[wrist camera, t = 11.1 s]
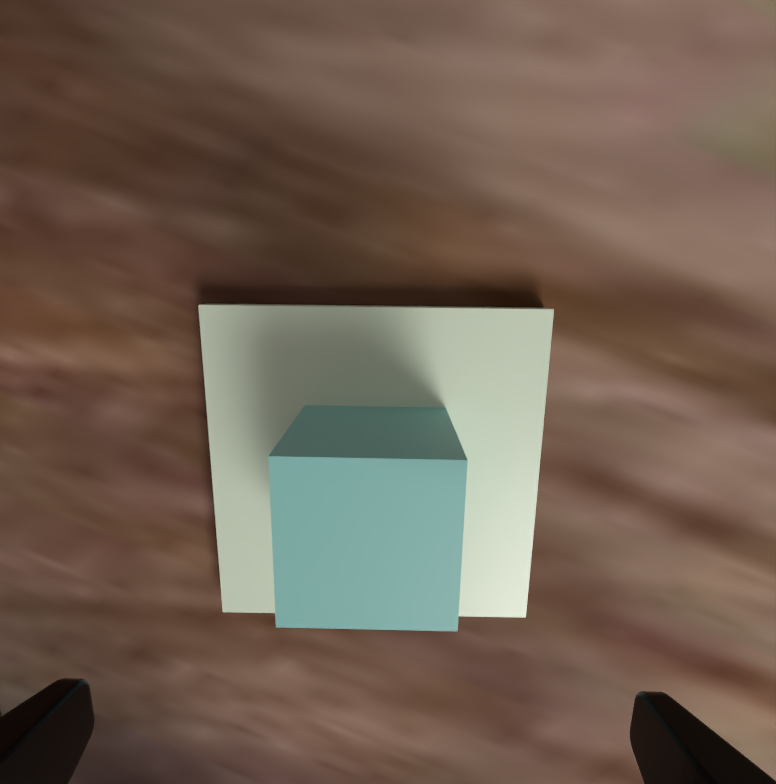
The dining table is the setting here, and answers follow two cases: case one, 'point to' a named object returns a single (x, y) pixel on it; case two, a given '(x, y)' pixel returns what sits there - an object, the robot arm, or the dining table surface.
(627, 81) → the dining table surface
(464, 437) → the sage pad
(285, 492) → the teal block
